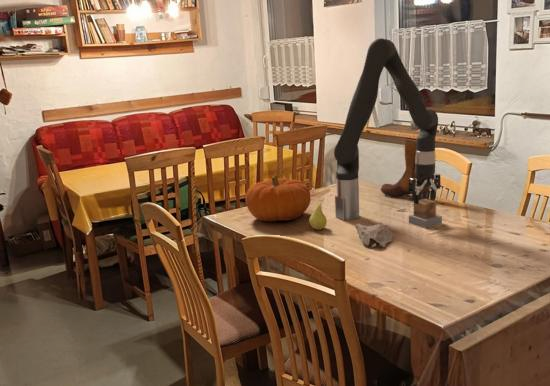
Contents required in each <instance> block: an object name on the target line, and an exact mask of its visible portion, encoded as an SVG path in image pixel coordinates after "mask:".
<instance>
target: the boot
mask: <svg viewBox="0 0 550 386" xmlns="http://www.w3.org/2000/svg"><path fill="white" fill-rule="evenodd" d="M403 141H404V144H403V145H404V162H405V171H404V173H403V174H402V175H401V178H400V179H399V180H398V181H397V182H396V183H395V184H391V183H384V184H382V186H381V188H380V192H381V193H383V195H385V196H387V197H390V198H395V199H397V198H402V197H405V196H409V195H411V197H412V198H411V200H412V201H413V194H411V193H409V179H410V178H413V179H414V178H416V173H415V157H416V142H417V141H413V140H408V139H404V140H403ZM418 187H419V185H418ZM430 190H431V189H430V188H429V187H425V188H423V189H422V190H421V191H420V192H419V194H418V195H419V200H422V199H428V200H430ZM416 191H417V190H416Z"/></svg>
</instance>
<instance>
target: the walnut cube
mask: <svg viewBox="0 0 550 386" xmlns="http://www.w3.org/2000/svg"><path fill="white" fill-rule="evenodd" d="M436 209H437V202H436V201H435V200H431V199H429V200H428V199H422V200H419V203H418V204H415V203H414V202H413V214H414V216H416V217H419V218H422V219H427V218H431V217H435V216H436V215H437V210H436Z"/></svg>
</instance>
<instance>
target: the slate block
mask: <svg viewBox="0 0 550 386" xmlns="http://www.w3.org/2000/svg"><path fill="white" fill-rule="evenodd" d="M408 223H409V224H412V225H413V226H418V227H420V228H422V229H423V228H424V229H427V228H431V227H435V226H438V225H441V224H443V216H442V215H440V214H436V216H435V217H431V218H427V219H422V218H419V217H416V216H414V213H413V214H410V215H408Z"/></svg>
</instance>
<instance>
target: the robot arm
mask: <svg viewBox="0 0 550 386" xmlns="http://www.w3.org/2000/svg"><path fill="white" fill-rule="evenodd" d="M384 68H385V69H386V70H387V72H388V73H389V76H390V77H391V79H392V81H393V84H394V86H395V89H396V91H397V93H398V96H399V97H400V98H401V100H402V101H403V103H404V105H405V106H406V107H407V110H408V113H409V116H410V117H411V120H412V121H413V122H412V123H414V125H415V127H417V128H418V129H419V135H417V137H416V141H415V142H416V157H415V173H416V178H414V179H413V178H410V179H409V193H411V194H410V195H412V194H413V200H412V202H413V204H414V203H415V204H418V203H419V195H418V194H419V192H420V191H421V190H422V189H423V188H425V187H429V188H430V197H429V200H432V201H435V200H436V197H437V191H438V190H440V189H441V174H439V173H436V135H437V132H438V127H439V117H438V114H437V112H436V111H435V110H434V109H427V107H426V105H425V103H424V102H425V99H424V96H423V93H421V91H420V90H419V88H418V86H417V85H416V83H415V82H414V80H413V79H412V76H410V74H409V72H408V71H407V69H406V68H405V65H404V63H403V62H402V59H401V57H400V55H399V53H398V49H397V48H396V45H395V43H394V42H393V41H391V40H390V39H387V38H376V39H375V40H373V41H372V42H371V43H370V44H369V46H368V49H367V53H366V57H365V62H364V65H363V69H362V72H361V75H360V77H359V80H358V82H357V85H356V89H355V90H354V94H353V96H352V98H351V99H352V100H351V101H350V105H349V108H348V110H347V111H348V112H347V115H346V119H345V123H344V127H343V129H342V132H341V135H340V137H339V139H338V141H337V143H336V145H335V147H334V151H333V155H334V159H335V160H336V170H335V179H336V181H335V182H336V185H335V186H336V195H335V196H334V200H335V201H334V203H335V204H334V206H335V211H334V212H335V218H337V219H340V220H341V221H353V220H357V219H359V218H360V194H359V193H360V191H359V190H360V189H359V188H360V187H359V186H360V185H359V170H360V151H359V141H360V138H361V135H362V133H363V131H364V130H365V127H366V125H367V124H368V122H369V120H370V118H371V116H372V114H373V112H374V108H375V105H376V103H377V99H378V95H379V94H378V93H379V84H380V79H381V75H382V74H383V73H382V72H383V70H384ZM418 185H419V187H418ZM416 190H417V191H416Z"/></svg>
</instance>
